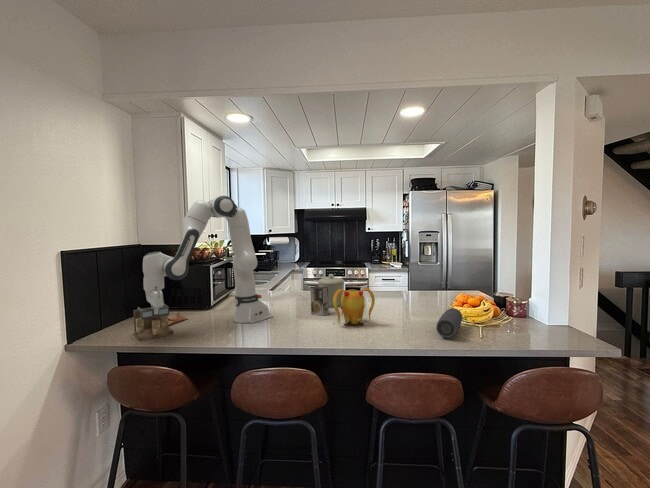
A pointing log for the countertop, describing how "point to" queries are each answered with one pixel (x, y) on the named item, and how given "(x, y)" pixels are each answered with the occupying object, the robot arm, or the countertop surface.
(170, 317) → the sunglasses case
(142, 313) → the glasses
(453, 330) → the bluetooth speaker
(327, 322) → the countertop surface
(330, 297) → the canister
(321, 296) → the coffee box
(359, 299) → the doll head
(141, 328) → the display stand
